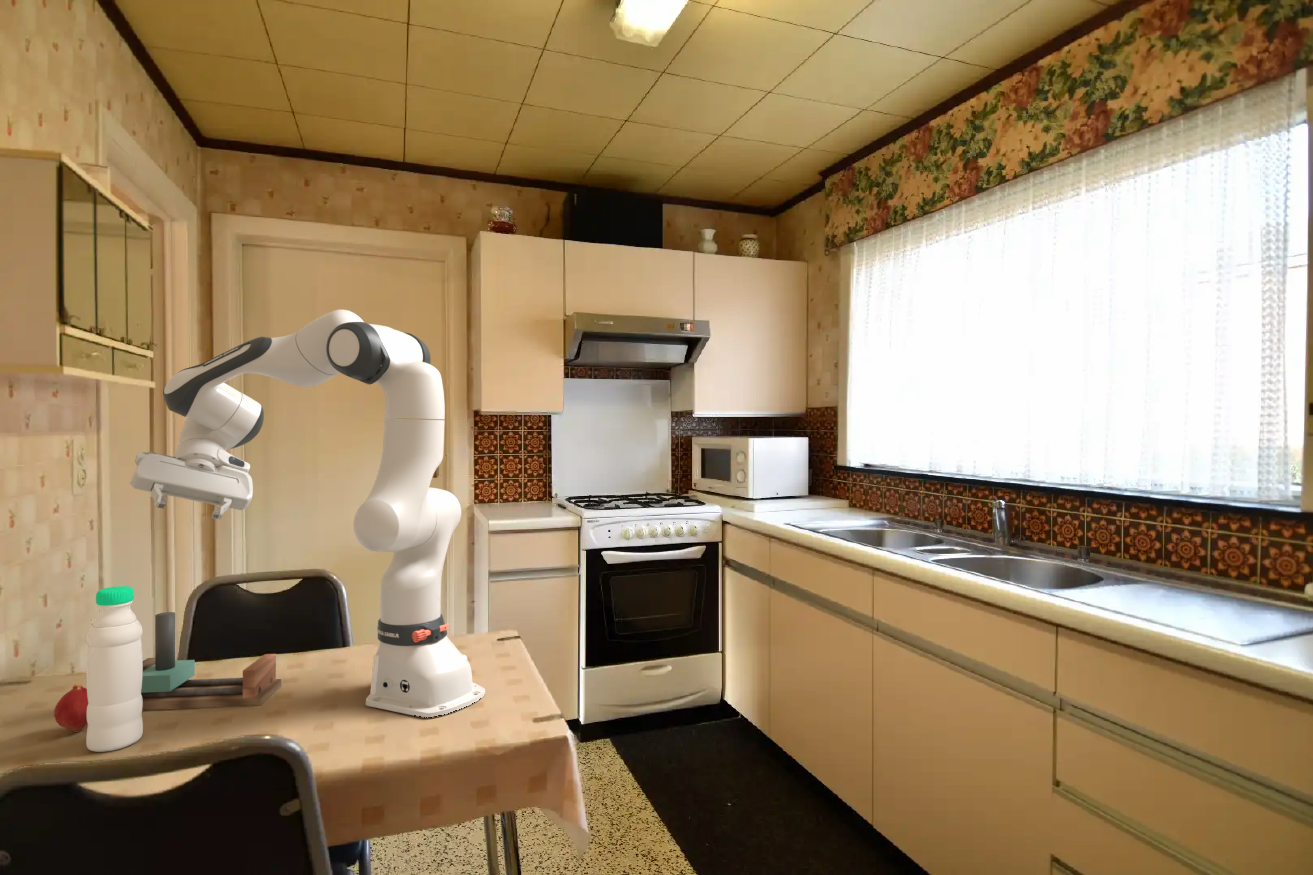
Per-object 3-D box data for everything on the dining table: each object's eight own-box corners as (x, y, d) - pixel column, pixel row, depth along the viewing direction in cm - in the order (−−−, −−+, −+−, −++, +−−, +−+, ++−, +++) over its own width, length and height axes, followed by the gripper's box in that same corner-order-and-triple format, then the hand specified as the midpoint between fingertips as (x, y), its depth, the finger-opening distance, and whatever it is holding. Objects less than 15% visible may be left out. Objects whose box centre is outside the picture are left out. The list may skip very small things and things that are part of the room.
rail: (281, 686, 132) (281, 653, 132) (260, 705, 123) (260, 669, 123) (148, 691, 129) (148, 657, 129) (116, 711, 120) (116, 675, 120)
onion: (52, 731, 112) (52, 683, 112) (96, 720, 116) (96, 674, 116) (56, 742, 108) (56, 693, 108) (102, 730, 112) (102, 683, 112)
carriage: (194, 675, 129) (194, 608, 129) (170, 691, 121) (170, 619, 121) (160, 676, 128) (160, 608, 128) (133, 692, 120) (133, 620, 120)
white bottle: (75, 748, 106) (75, 590, 105) (124, 730, 112) (124, 581, 112) (104, 757, 103) (104, 595, 103) (153, 737, 110) (153, 585, 109)
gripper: (143, 438, 131) (128, 486, 121) (258, 466, 143) (253, 512, 134) (133, 460, 133) (117, 510, 123) (247, 486, 146) (241, 533, 136)
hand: (189, 511), depth 129 cm, fingers open, 8 cm apart
